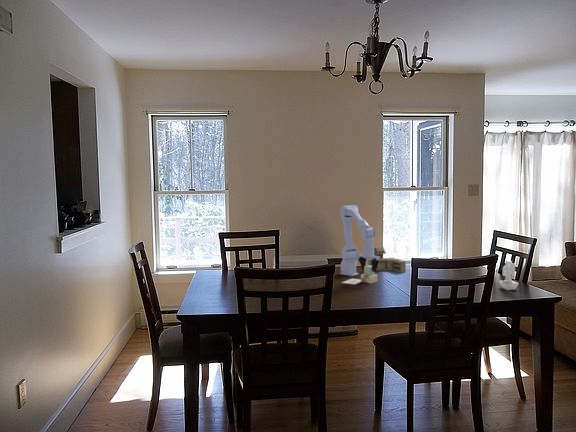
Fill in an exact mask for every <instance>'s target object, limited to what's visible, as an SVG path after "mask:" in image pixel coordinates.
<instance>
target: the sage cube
mask: <svg viewBox="0 0 576 432" xmlns="http://www.w3.org/2000/svg"><path fill="white" fill-rule="evenodd" d="M363 274H364V275H368V276H372V275H375V274H376V272H373V271H372V266H371V265H368V264H367V265H366V266H364V270H363Z"/></svg>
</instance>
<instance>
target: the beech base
mask: <svg viewBox="0 0 576 432" xmlns="http://www.w3.org/2000/svg"><path fill="white" fill-rule="evenodd" d="M378 276H379V275H378V274H376V273H375V275H372V276H368V275H364V273H362V274H360V280H361V282H360V283H367V284H373V283H377V282H378V281H379V279H378V278H379V277H378Z"/></svg>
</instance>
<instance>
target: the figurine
mask: <svg viewBox="0 0 576 432" xmlns="http://www.w3.org/2000/svg"><path fill="white" fill-rule="evenodd" d="M515 273H516V264H515V263H513V261H512V260H505V264H504V266H502V276H503V277H505V279H504V280H498V282H499V284H500V286H501V288H502V289H504V290H506V291H510V290H511V291H513V290H516V288H517V287H518V286H519V282H517V281H515V280H512V275H513V274H515Z"/></svg>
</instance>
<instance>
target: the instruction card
mask: <svg viewBox="0 0 576 432" xmlns="http://www.w3.org/2000/svg"><path fill="white" fill-rule="evenodd" d="M341 283H342V284H346V285H347V284H349V285H357V284H360V283H362V282H361V278H350V279H346V280H345V281H341Z"/></svg>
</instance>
